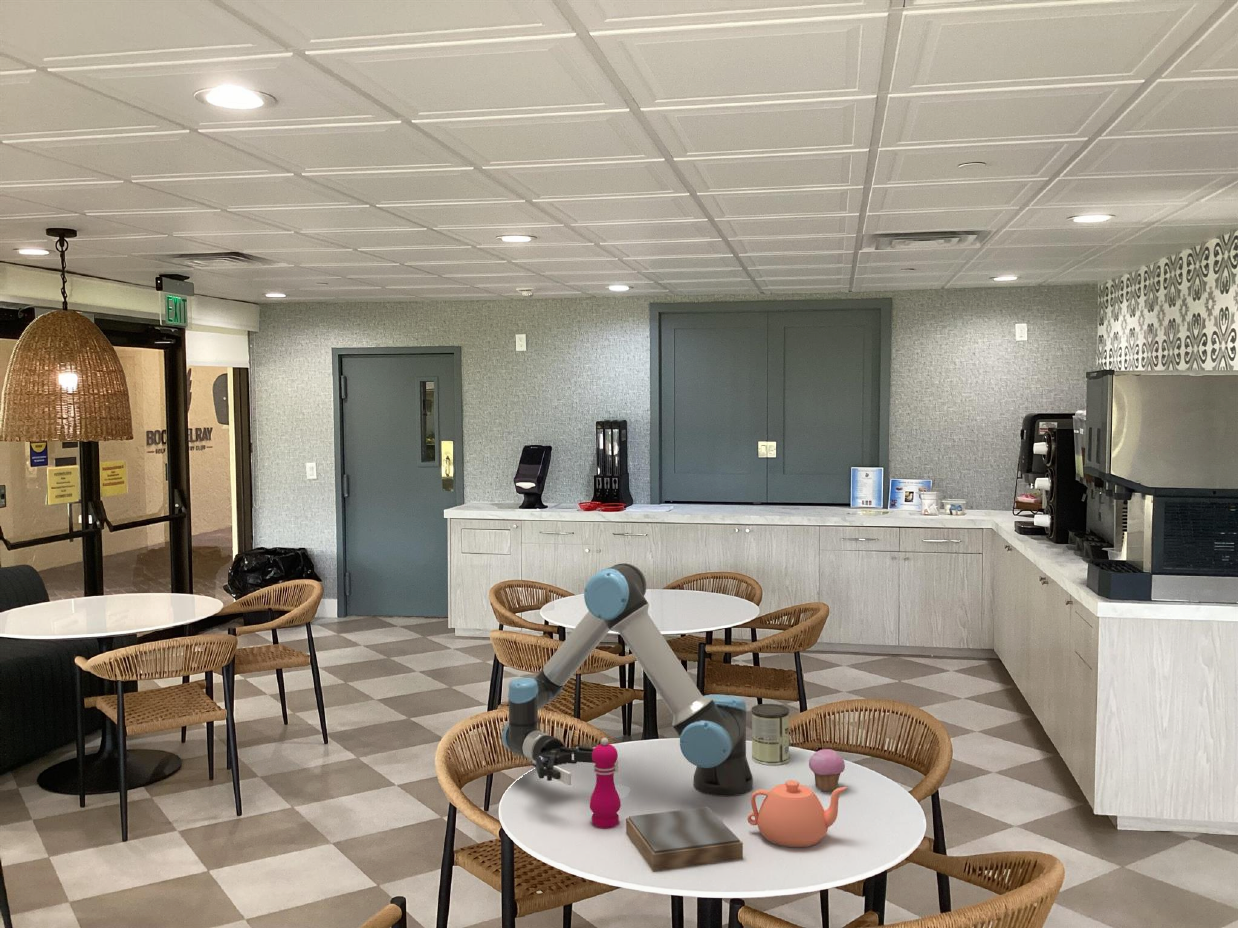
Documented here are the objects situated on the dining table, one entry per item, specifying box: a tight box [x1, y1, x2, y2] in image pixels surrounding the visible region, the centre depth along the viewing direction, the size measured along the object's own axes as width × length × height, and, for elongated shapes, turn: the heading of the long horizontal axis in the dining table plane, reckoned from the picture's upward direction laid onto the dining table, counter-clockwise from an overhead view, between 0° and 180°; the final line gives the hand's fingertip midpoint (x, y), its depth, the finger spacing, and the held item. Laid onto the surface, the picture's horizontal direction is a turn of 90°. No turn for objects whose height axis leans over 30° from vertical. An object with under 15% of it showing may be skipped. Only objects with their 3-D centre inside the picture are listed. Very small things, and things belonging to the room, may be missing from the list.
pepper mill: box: [589, 737, 622, 829], centre depth 229 cm, size 7×7×20 cm
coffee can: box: [750, 703, 790, 766], centre depth 272 cm, size 10×10×14 cm
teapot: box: [747, 779, 848, 848], centre depth 221 cm, size 22×16×12 cm
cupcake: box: [808, 748, 846, 792], centre depth 250 cm, size 9×9×10 cm
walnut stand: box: [625, 806, 744, 872], centre depth 217 cm, size 20×20×4 cm
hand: (593, 772), depth 232 cm, fingers open, 13 cm apart
